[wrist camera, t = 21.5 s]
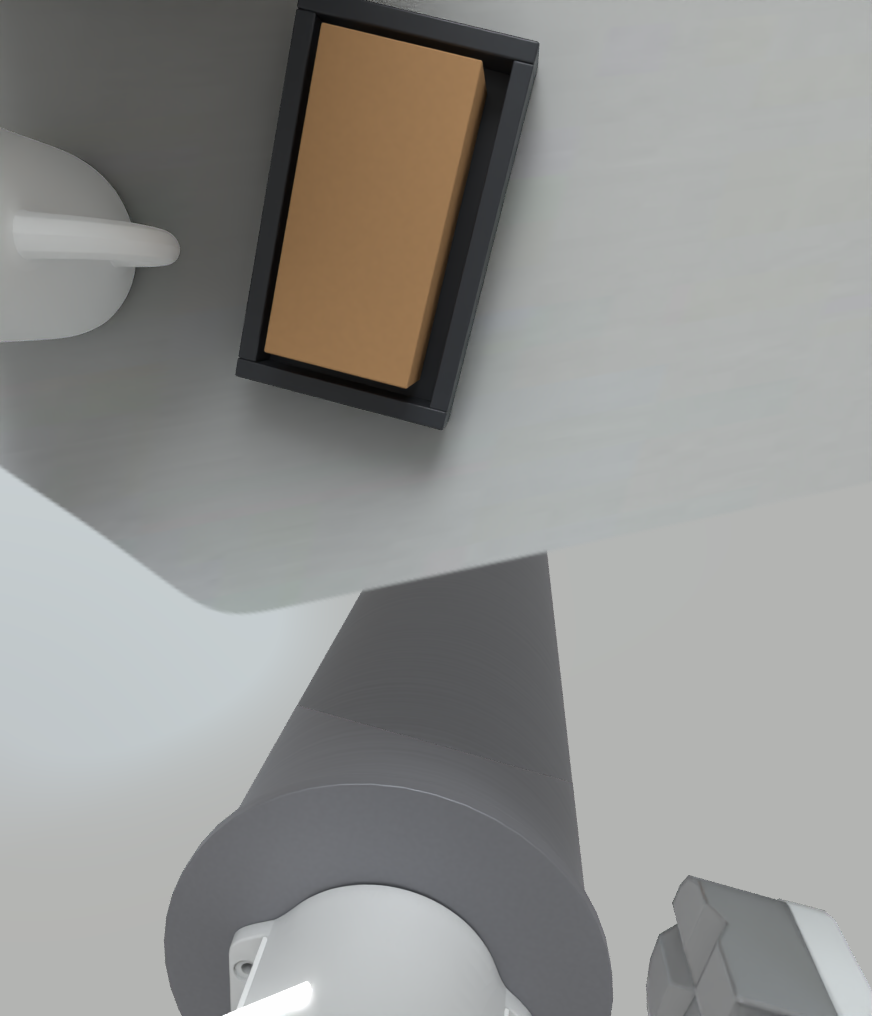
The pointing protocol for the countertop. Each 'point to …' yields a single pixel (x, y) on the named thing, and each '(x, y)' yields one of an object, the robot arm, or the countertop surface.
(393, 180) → the pad
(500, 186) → the pad base
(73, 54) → the countertop surface
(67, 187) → the mug
